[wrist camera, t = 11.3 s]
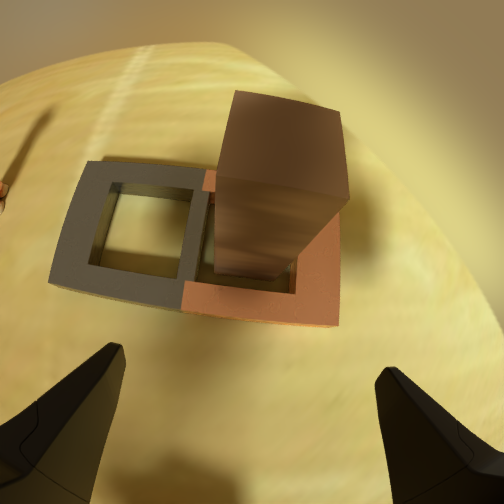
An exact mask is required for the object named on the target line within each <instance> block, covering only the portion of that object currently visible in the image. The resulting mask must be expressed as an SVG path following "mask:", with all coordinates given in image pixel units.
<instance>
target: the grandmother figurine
mask: <svg viewBox="0 0 504 504" xmlns="http://www.w3.org/2000/svg"><path fill="white" fill-rule="evenodd" d="M8 188H9V187H8V185H7V184H4V183H2V182H1V181H0V198H2V197H4V196H5V195H6V193H7V191H8ZM3 210H4V202H3V201H0V214H1V213H2V212H3Z"/></svg>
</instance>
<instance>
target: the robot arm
mask: <svg viewBox="0 0 504 504" xmlns="http://www.w3.org/2000/svg"><path fill="white" fill-rule="evenodd" d="M125 367H126V360H125V355H124V350H123V346H122V345H121V344H117V343H113V342H110V343H108V344H107V345H105V346H104V347H103V348H102V349H100V350H99V351H98V352H96V353H95V354H94V355H93V356H91V357H90V358H89V359H87V360H86V361H85V362H84V363H82V364H81V365H80V366H79V367H77V368H76V369H75V370H73V371H72V372H71V373H70V374H68V375H67V376H66V377H65V378H63V379H62V380H61V381H60V382H58V383H57V384H56V385H55V386H53V387H52V388H51V389H50V390H48V391H47V392H46V393H45V394H43V395H42V396H41V397H40V398H38V399H37V401H34V402H33V403H32V404H31V405H30V406H28V407H27V408H26V409H24V410H23V411H22V412H20V413H19V414H18V415H16V416H15V417H13V418H12V419H10V420H9V421H7V422H6V423H4V424H2V425H1V426H0V504H90V499H91V495H92V491H93V487H94V483H95V479H96V475H97V471H98V467H99V464H100V460H101V456H102V453H103V449H104V446H105V443H106V439H107V436H108V433H109V430H110V426H111V423H112V420H113V417H114V414H115V411H116V407H117V404H118V399H119V394H120V389H121V385H122V380H123V376H124V372H125ZM375 393H376V401H377V410H378V418H379V424H380V429H381V434H382V439H383V444H384V449H385V454H386V460H387V466H388V472H389V478H390V485H391V492H392V499H393V504H504V453H503V452H500V451H497V450H496V449H494V448H493V447H491V446H490V445H488V444H487V443H486V442H484V441H483V440H481V439H480V438H479V437H477V436H476V435H475V434H473V433H472V432H471V431H470V430H468V429H467V428H466V427H465V426H464V425H462V424H461V423H460V422H459V421H458V420H456V419H455V418H454V417H453V416H452V415H451V414H450V413H449V412H447V411H446V410H445V409H444V408H443V407H442V406H441V405H439V404H438V403H437V402H436V401H435V400H434V399H433V398H431V397H430V396H429V395H428V394H427V393H426V392H424V391H423V390H422V389H421V388H420V387H419V386H418V385H416V384H415V383H414V382H413V381H412V380H411V379H409V378H408V377H407V376H406V375H405V374H404V373H402V372H401V371H400V370H399V369H398V368H397V367H394V366H393V367H386V368H384V369H383V371H382V372H381V374H380V375H379V377H378V378H377V379H376V381H375Z"/></svg>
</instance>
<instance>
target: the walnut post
mask: <svg viewBox="0 0 504 504" xmlns="http://www.w3.org/2000/svg"><path fill="white" fill-rule="evenodd" d="M348 200H349V186H348V174H347V164H346V155H345V147H344V139H343V132H342V125H341V118H340V112H339V111H335V110H332V109H328V108H324V107H320V106H316V105H312V104H308V103H304V102H300V101H295V100H290V99H286V98H281V97H275V96H270V95H264V94H258V93H252V92H245V91H238V90H235V93H234V97H233V101H232V105H231V109H230V114H229V118H228V122H227V126H226V131H225V135H224V139H223V144H222V148H221V153H220V157H219V162H218V167H217V172H216V182H215V232H214V274H220V275H227V276H234V277H242V278H249V279H257V280H265V281H274V280H275V279H276V278H277V277H278V276H279V275H280V274H281V273H282V272H283V271H284V270H285V269H286V268H287V267H288V266H289V265H290V263H291V262H292V261H293V260H294V259H295V258H296V257H297V256H298V255H299V254H300V253H301V252H302V251H303V250H304V249H305V248H306V246H307V245H308V244H309V243H310V242H311V241H312V240H313V239H314V238H315V237H316V236H317V235H318V234H319V232H320V231H321V230H322V229H323V228H324V227H325V226H326V225H327V224H328V223H329V222H330V220H331V219H332V218H333V217H334V216H335V215H336V214H337V213H338V212H339V211H340V209H341V208H342V207H343V206H344V205H345V204H346V203H347V202H348Z"/></svg>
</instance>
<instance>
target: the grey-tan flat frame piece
mask: <svg viewBox="0 0 504 504" xmlns="http://www.w3.org/2000/svg"><path fill="white" fill-rule="evenodd" d="M216 172H217V171H216V170H208V169H199V168H190V167H180V166H169V165H158V164H145V163H129V162H109V161H87V164H86V166H85V168H84V171H83V173H82V175H81V178H80V180H79V182H78V185H77V187H76V190H75V193H74V195H73V198H72V201H71V203H70V206H69V209H68V212H67V215H66V218H65V221H64V224H63V227H62V230H61V233H60V237H59V240H58V244H57V247H56V251H55V255H54V259H53V263H52V267H51V271H50V275H49V280H48V283H50V284H52V285H55V286H57V287H59V288H63V289H67V290H71V291H75V292H79V293H84V294H88V295H92V296H97V297H101V298H106V299H111V300H116V301H121V302H126V303H131V304H136V305H141V306H147V307H153V308H158V309H164V310H170V311H176V312H183V313H189V314H196V315H203V316H210V317H218V318H226V319H234V320H243V321H252V322H261V323H272V324H283V325H295V326H308V327H324V328H329V327H336V326H339V307H340V218H339V212H338V213H337V214H336V215H335V216H334V217H333V218H332V219H331V220H330V222H329V223H328V224H327V225H326V226H325V227H324V228H323V229H322V230H321V231H320V232H319V234H318V235H317V236H316V237H315V238H314V239H313V240H312V241H311V242H310V243H309V244H308V245H307V246H306V248H305V249H304V250H303V251H302V252H301V253H300V254H299V255H298V256H297V257H296V258H295V259H294V260H293V261H292V262H291V264H290V280H289V294H287V293H278V292H269V291H260V290H252V289H244V288H236V287H228V286H221V285H213V284H206V283H199V282H197V276H198V269H199V263H200V257H201V250H202V244H203V238H204V233H205V227H206V221H207V216H208V210H209V205H210V204H215V182H216ZM119 194H128V195H138V196H148V197H158V198H167V199H176V200H184V201H191V206H190V211H189V215H188V220H187V225H186V230H185V235H184V240H183V245H182V251H181V256H180V262H179V267H178V273H177V279H171V278H165V277H159V276H152V275H146V274H140V273H134V272H128V271H122V270H116V269H111V268H105V267H99V262H100V258H101V254H102V250H103V246H104V242H105V238H106V235H107V231H108V228H109V224H110V221H111V217H112V214H113V211H114V208H115V204H116V201H117V198H118V195H119Z"/></svg>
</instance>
